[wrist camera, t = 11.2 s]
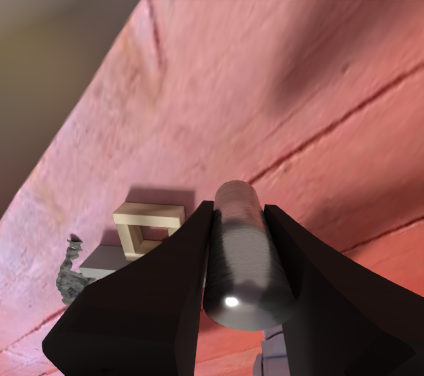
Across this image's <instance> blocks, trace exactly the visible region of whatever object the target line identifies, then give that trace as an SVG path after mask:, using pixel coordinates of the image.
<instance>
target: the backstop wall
mask: <svg viewBox="0 0 424 376" xmlns="http://www.w3.org/2000/svg"><path fill="white" fill-rule="evenodd" d="M131 262H133V261H129V260H126V257H125V253H124V250H123V247H118V246H105V245H99V246H98V247H97V248H96V249H95V250H94V251H93V252H92V253H91V255H90V256H89V257H88V258H87V259H86V260H85V261H84V262H83V263H82V264H81V266H80V267H79V269H80V271H81V273H82V275H83V277H90V278H103V277H105V276H107V275H109V274H111V273H113V272H115V271H117V270H119V269H121V268H122V267H124V266H126V265H128V264H130V263H131ZM206 271H207V268H206ZM205 280H206V273H205V278H204V284H203V288H205Z"/></svg>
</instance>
